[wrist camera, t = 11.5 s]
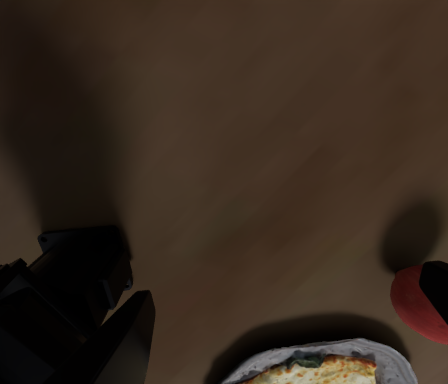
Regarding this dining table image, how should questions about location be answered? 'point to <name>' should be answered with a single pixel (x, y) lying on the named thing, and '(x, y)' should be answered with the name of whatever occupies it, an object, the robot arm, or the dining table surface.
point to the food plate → (325, 365)
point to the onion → (417, 306)
